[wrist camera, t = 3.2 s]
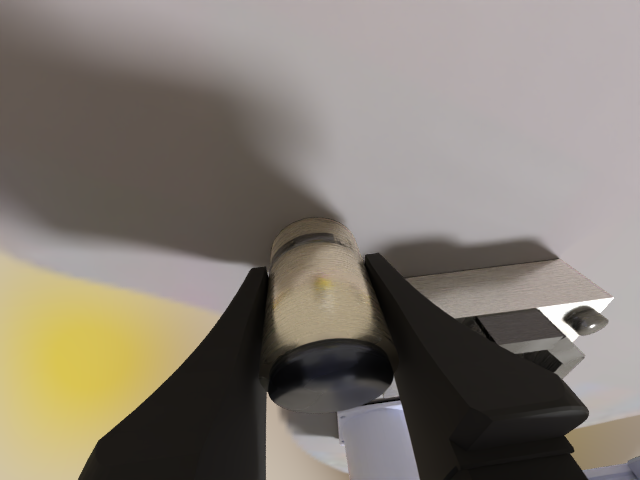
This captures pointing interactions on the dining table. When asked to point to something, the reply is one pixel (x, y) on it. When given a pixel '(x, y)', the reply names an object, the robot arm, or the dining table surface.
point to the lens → (323, 323)
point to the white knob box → (522, 309)
